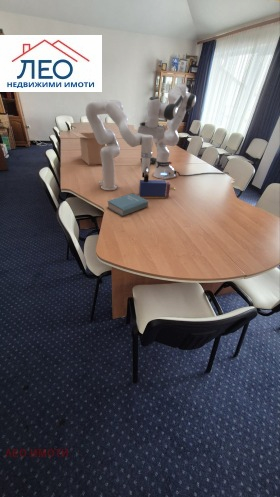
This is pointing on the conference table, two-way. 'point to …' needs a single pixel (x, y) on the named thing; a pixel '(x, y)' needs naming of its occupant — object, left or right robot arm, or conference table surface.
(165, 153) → the right robot arm
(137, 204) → the book
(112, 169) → the left robot arm
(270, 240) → the conference table surface
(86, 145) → the box
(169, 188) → the drawer
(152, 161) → the laser sight
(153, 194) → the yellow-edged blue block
